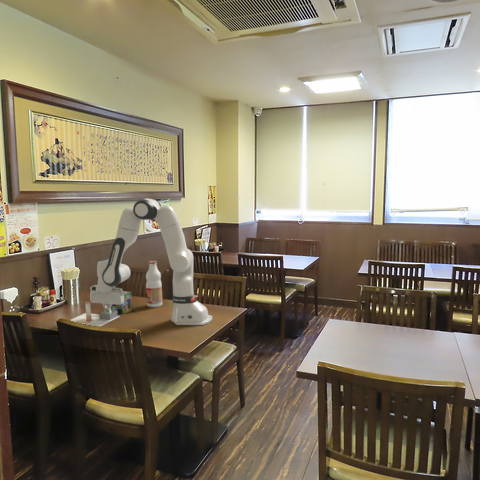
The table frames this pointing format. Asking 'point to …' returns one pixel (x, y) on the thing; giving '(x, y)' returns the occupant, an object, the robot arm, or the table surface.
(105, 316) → the board
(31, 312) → the table surface
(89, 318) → the marker
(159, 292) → the fruit juice
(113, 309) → the chalk box
